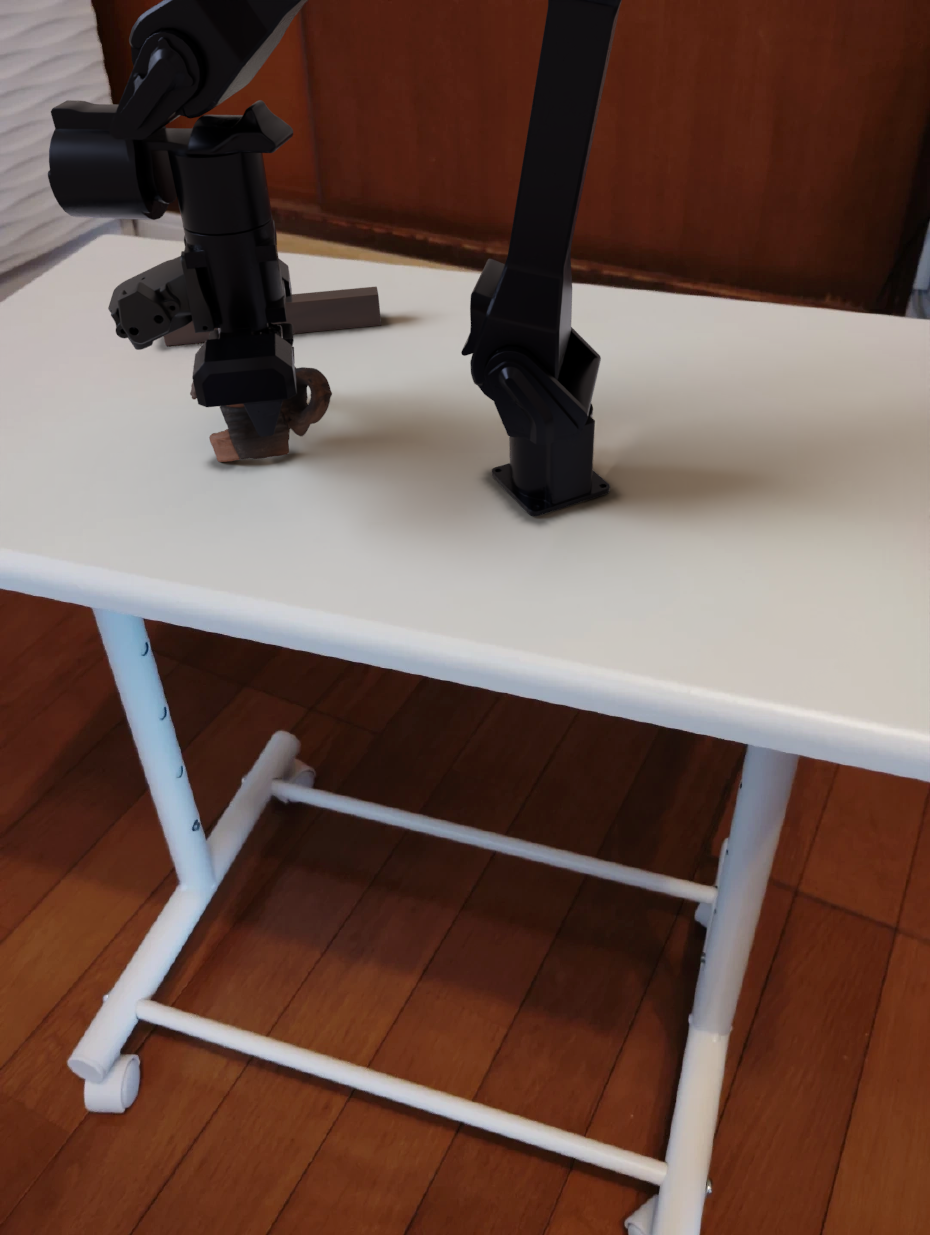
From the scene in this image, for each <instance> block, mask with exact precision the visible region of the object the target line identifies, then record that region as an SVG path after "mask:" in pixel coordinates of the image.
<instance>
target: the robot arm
mask: <svg viewBox="0 0 930 1235" xmlns="http://www.w3.org/2000/svg"><path fill="white" fill-rule="evenodd" d="M307 2H309V0H161V1H160V2H158V3H157V4H155V5H154V6H151V7H149V9H147V10H145V11H144V12H143V13H142V14H140V15H139V17H138V18H137V19H136V21H135V22H134V24H133V26H132V28H131V31H130V34H129V38H128V42H129V45H130V55H131V62H132V65H133V68H132V71H131V73H130V75H129V78H128V80H127V83H126V86H125V88H124V90H123V93H122V95H121V98H120V100H119V102H118V104H113V103H112V104H111V103H107V104H105V103H93V102H89V101H86V100H69V99H68V100H66V101H62V102H61V103H59V104H58V105H56V106H54V107H52V108H51V109H50V116H51V119H52V122H53V126H54V131H53V133H52V136H51V139H50V143H49V147H48V164H49V170H48V171H47V180H48V184H49V186H50V189H51V192H52V194H53V197H54V199H56V202H57V204H58V205H59V206H60V208H61V209H62V210H63V212H65V213H66V214H68V215H69V216H71V217H75V218H84V219H85V218H87V219H90V218H91V219H115V220H117V219H119V220H145V221H146V220H147V221H156V220H159V219H161V218H162V217H163V216H164V215H165V213H166V212H167V210H168V208H169V205H170V204H173V203H174V202H175V201H176V200H177V203H178V209H179V213H180V218H181V222H182V229H183V232H184V236H183V243H184V250H183V251H181V252H180V255H178V256H177V257H174V258H173V259H169V260H166V261H163V262H161V263H159V264H157V265H155V266H153V267H151V268H148V269H147V270H145V271H143V272H141V273H138V274H136V275H135V276H132V277H130V278H128V279H126V280H124V281H122V282H121V283H119V284H118V285H117V286H116V287H115V288H114V289H113V291H112V295H111V297H110V301H109V304H108V307H107V309H108V311H109V313H110V317H111V318H112V319H113V321H114V323H115V334H116V335H117V336H118V337H119V338H121V339H128V340H129V342H130V343H131V345H132V346H133V348H134V349H135V350H136V351H141V350H145V349H147V348H149V347H152V346H153V343H154V342H155V341H157V340H159V339H161V338H164V336H165V335H167V334H170V333H172V332H174V331H176V330H178V329H180V328H182V327H184V326H186V325H188V324H189V323H190V322H192V321H193V325H194V330H195V333H202V332H210V333H209V340H206V341H205V342H203V344H202V345H201V346H200V348H199V349H198V350H197V352H196V353H195V354H194V360H193V369H192V378H191V379H192V383H194V387H195V392H196V396H197V398H196V400H197V405H199V406H202V407H205V408H215V407H220V406H226V405H236V404H244V407H245V409H246V411H247V413H248V415H249V417H250V419H251V421H252V423H253V425H254V427H255V429H256V431H257V433H258V435H259V436H261V437H263V436H272V435H273V434H274V432H275V428H276V424H277V421H278V417H279V413H280V410H281V406H282V402H283V400H285V399H289V398H291V397H293V396H294V395H296V394H297V391H296V374H295V367H296V365H295V362H296V361H295V347H294V346H293V345H294V341H295V339H294V337H295V336H294V334H293V325H292V324H290V323H278V322H287V318H286V303H290V302H292V294H293V288H292V280H291V274H290V268H289V265H288V264H287V263H285V262H284V261H283V260H282V259H280V258H279V253H278V252H279V251H278V235H277V228H276V223H275V222H276V221H275V220H274V219H273V212H272V206H271V200H270V192H269V186H268V179H267V173H266V169H265V167H266V166H265V159H264V154H273V153H275V152H276V151H277V150H279V149H280V147H282V146H283V145H285V143H287V142H288V141H289V140H291V139H292V138H293V136H294V129H293V128H292V127H291V125H289V124H288V123H287V122H285V121H284V120H283V119H282V118H281V117H279V116H277V115H276V114H274V113H273V112H272V111H271V110H270V109H269V107H268V106H267V105H266V102H264V101H263V100H261V99H260V100H257V101H255V102H254V103H252V104H251V105H249V106H248V107H247V108H246V109H245V111H244V113H243V114H207V113H209V112H210V111H212V110H214V109H215V108H217V107H218V106H219V105H221V104H222V103H224V102H225V101H227V100H228V99H229V98H231V97H232V96H234V95H235V94H237V93H238V92H240V91H241V90H242V89H244V88H245V87H246V86H248V84H250V83H251V82H252V80H253V79H254V77H255V76H256V75H257V73H258V72H259V71H260V69H261V68H262V67H263V65H264V64H265V63H266V62H267V60H268V58H269V57H270V56H271V55H272V53H273V52H274V50H276V48H277V46H278V45H279V44H280V42H281V41H282V39H283V37H284V36H285V33H286V31H287V30H288V28H289V27H290V25H291V23H292V21H293V20H294V18H295V17H296V16H297V15H298V13H299V12H300V10H301V9H302V8H303V7H304V6H305V4H306V3H307ZM622 2H623V0H547V9H546V10H547V11H546V16H545V23H544V29H543V35H542V41H541V48H540V53H539V59H538V66H537V71H536V79H535V83H534V84H535V85H534V90H533V96H532V97H533V98H532V101H531V102H532V103H531V110H530V114H529V121H528V127H527V134H526V139H525V146H524V151H523V157H522V158H523V159H522V165H521V172H520V176H519V183H518V189H517V194H516V195H517V196H516V201H515V208H514V214H513V219H512V225H511V233H510V238H509V245H508V251H507V256H506V259H505V262H504V263H503V262H500V261H498V260H495V259H493V258H488V259H487V260H486V262H485V264H484V267H483V268H482V271H481V272H480V275H479V277H478V279H477V281H476V283H475V285H474V287H473V290H471V291H472V292H471V294H470V301H469V302H470V303H469V316H470V317H469V318H470V330H469V331H470V332H469V334H468V336H467V339H466V340H465V343H464V345H463V347H462V350H461V352H460V353H461V355H462V356H464V357H466V356H469V355H471V358H470V362H469V363H470V375H471V379H472V381H473V383H474V385H476V386H477V387H478V388H479V389H480V391H481V392H482V393H483V395H484V396H486V397H487V398H489V399H490V400H491V401H493V403H494V406H495V408H496V411H497V413H498V415H499V419H500V420H501V423H502V426H503V427H504V430H505V432H506V435H507V436H508V437H509V439H508V440H509V441H508V442H509V444H508V446H509V463H505V464H501V465H498V466H496V467H493V468H492V469H491V477H492V478H493V479H494V481H495V482H496V483H498V485H500V487H502V488H503V490H504V491H505V492H506V493H507V494H508V495H509V496H510V497H511V498H512V499H513V500H514V501H515V502H516V503H517V504H518V505H519V506H520V507H521V508H523V510H524V511H525V512H526V513H527V514H528V515H529V516H531V517H540V516H543V515H546V514H550V513H552V512H555V511H558V510H562V509H566V508H568V507H571V506H574V505H577V504H580V503H583V502H586V501H589V500H592V499H596V498H599V497H601V496H605V495H608V494H609V493H610V492H611V491H610V490H611V485H610V484H609V482H607V481H606V480H605V479H604V478H603V477H602V476H601V475H599V474H598V473H597V472H596V471H595V470H594V469H593V468H594V467H593V466H594V451H595V449H594V447H595V429H596V427H595V426H596V420H595V419H594V417H593V416H594V407H593V406H594V405H593V403H592V402H593V401H592V400H593V396H594V391H595V388H596V382H597V379H598V374H599V369H600V365H601V362H602V361H601V360H602V357H601V355H600V354H599V352H597V351H596V350H595V349H594V348H593V347H592V345H590V344H589V343H588V342H587V341H586V340H585V339H584V338H583V337H582V335H580V334H579V333H578V332H577V331H576V330H575V329H574V328H573V327H572V316H573V315H572V314H573V312H572V311H573V278H572V277H573V275H572V260H571V258H572V257H571V256H572V245H573V244H572V243H573V239H574V234H575V229H576V225H577V220H578V214H579V211H580V204H581V200H582V195H583V191H584V185H585V181H586V175H587V170H588V166H589V161H590V156H591V151H592V146H593V142H594V136H595V131H596V126H597V121H598V116H599V112H600V106H601V103H602V97H603V92H604V87H605V82H606V77H607V74H608V69H609V68H608V67H609V63H610V58H611V53H612V48H613V43H614V38H615V33H616V29H617V28H616V27H617V23H618V19H619V13H620V8H621V5H622ZM180 116H181V117H185V118H186V119H196V118H197V119H196V121H195V122H194V124H193V126H192V128H174V127H166V126H167V125H169V124H170V123H171V122H174V120H176V119H177V118H179V117H180ZM272 323H278V324H272ZM215 328H218V329H216V330H214V329H215Z"/></svg>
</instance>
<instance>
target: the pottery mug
mask: <svg viewBox="0 0 930 1235" xmlns="http://www.w3.org/2000/svg"><path fill="white" fill-rule="evenodd" d="M295 374H296V391H297V394H296V395H294V396H293V397H291V398H289V399H285V400H283V402H282V406H281V410H280V413H279V417H278V421H277V424H276V428H275V432H274V434H273V435H272V436H263V437H261V436H259V435H258V433H257V431H256V429H255V427H254V425H253V423H252V421H251V419H250V417H249V415H248V413H247V411H246V409H245V407H244V404H236V405H226V406H219V409H220V412H221V414H222V416H223V418H224V422H225V424H226V426H227V428H226V429H224V430H221V431H218V432H213V433H211V434H210V435H209V442H210V445H211V447H212V449H213V452H214V455H215V457H216V460H217V462H218V463H221V462H223V463H226V462H233V461H239V460H246V459H247V460H249V459H252V460H259V459H267V458H272V457H279V456H286V455H289V453H290V442H289V441H290V430H292V432H294V434H295V435H297V436H299V437H304V436H305V435H306V434H307V432H308V431H309V429H310V426H311V425H313V424H317V423H318V422H319V421H320V420H321V419H323V417H324V416H325V414H326V412H327V411H328V410H329V406H330V402H331V398H332V396H333V392H332V390H331V386H330V384H329V383H330V382H329V380H328V379H327V377H326V376H325V374H324V373H323V372H321V371H320V370H318V369H317V368H315V367H306V366H305V367H304V366H301V367H297V366H295ZM190 386H191V389H190V392H189V395H190V396H191V399H192V400H197V396H196V392H195V387H194V383H193V382H192V383H191V385H190ZM308 388H309V391H310V398H309V397H308ZM308 398H309V399H308ZM308 400H309V402H308Z"/></svg>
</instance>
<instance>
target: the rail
mask: <svg viewBox="0 0 930 1235" xmlns="http://www.w3.org/2000/svg"><path fill="white" fill-rule="evenodd" d="M286 318H287V322H278V323H290V324H292V325H293V335H295V334H303V333H314V332H315V333H316V332H325V331H335V330H346V329H356V328H357V329H358V328H367V327H379V326H382V319H381V308H380V298H379V291H378V287H377V286H367V287H366V286H365V287H356V288H344V289H335V290H334V289H333V290H322V291H314V292H304V293H303V292H301V293H292V302H290V303H286ZM278 323H272V324H278ZM216 329H218V328H215V329H214V330H216ZM209 333H210V332H202V333H195V330H194V325H193V321H192V322H190V323H189V324H188V325H186V326H184V327H182V328H180V329H178V330H176V331H174V332H172V333H170V334H167V335H165V336H163V340H164V345H165V346H166V347H167V346H178V345H179V346H180V345H189V344H190V345H191V344H199V343H205V341H206V340H209Z"/></svg>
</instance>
